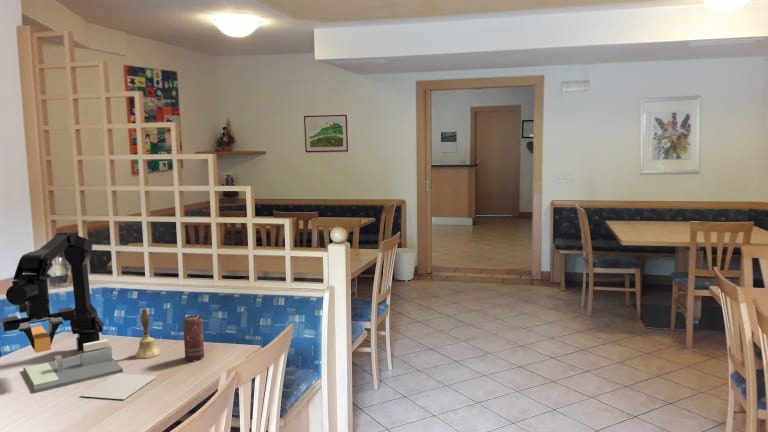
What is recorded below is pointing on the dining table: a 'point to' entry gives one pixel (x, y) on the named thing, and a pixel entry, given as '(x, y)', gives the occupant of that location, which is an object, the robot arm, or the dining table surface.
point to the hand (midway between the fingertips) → (41, 346)
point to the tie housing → (88, 357)
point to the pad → (41, 374)
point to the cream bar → (95, 345)
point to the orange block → (40, 339)
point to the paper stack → (119, 386)
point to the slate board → (77, 373)
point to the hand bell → (146, 340)
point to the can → (193, 337)
